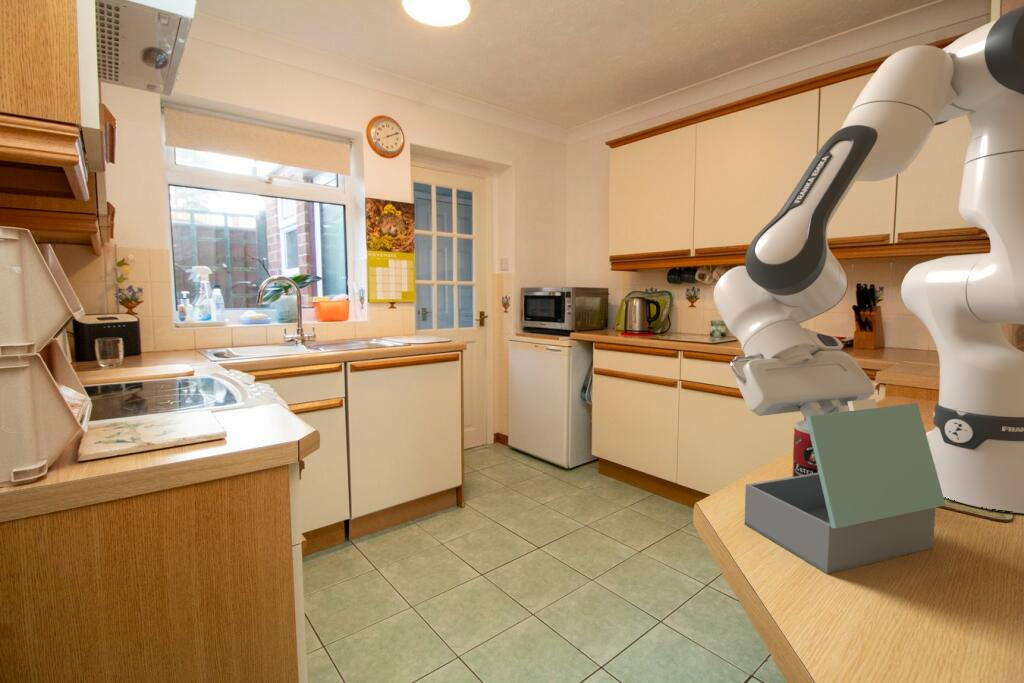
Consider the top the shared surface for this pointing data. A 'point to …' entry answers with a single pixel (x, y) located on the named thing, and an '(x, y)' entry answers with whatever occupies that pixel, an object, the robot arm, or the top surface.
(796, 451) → the canned food
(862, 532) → the box
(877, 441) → the mailer lid
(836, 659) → the top surface
